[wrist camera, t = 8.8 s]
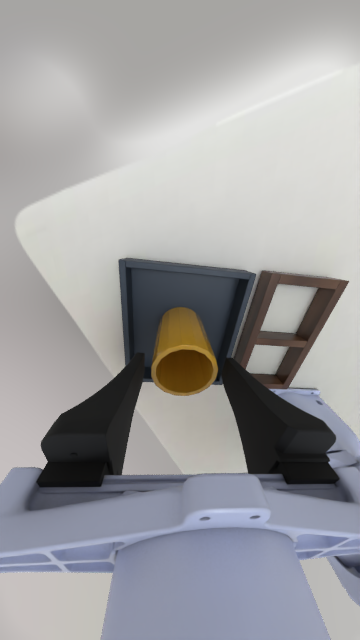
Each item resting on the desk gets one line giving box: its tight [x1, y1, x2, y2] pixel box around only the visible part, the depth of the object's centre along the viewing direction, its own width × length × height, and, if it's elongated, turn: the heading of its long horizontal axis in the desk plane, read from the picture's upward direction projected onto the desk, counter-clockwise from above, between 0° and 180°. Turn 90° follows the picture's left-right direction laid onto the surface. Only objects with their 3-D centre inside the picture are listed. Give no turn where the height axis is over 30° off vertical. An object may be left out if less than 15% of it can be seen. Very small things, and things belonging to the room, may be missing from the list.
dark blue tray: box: [119, 258, 256, 385], centre depth 19 cm, size 13×15×3 cm
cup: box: [151, 307, 218, 396], centre depth 16 cm, size 5×5×8 cm
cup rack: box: [234, 271, 349, 390], centre depth 20 cm, size 9×17×2 cm, turn 174°
